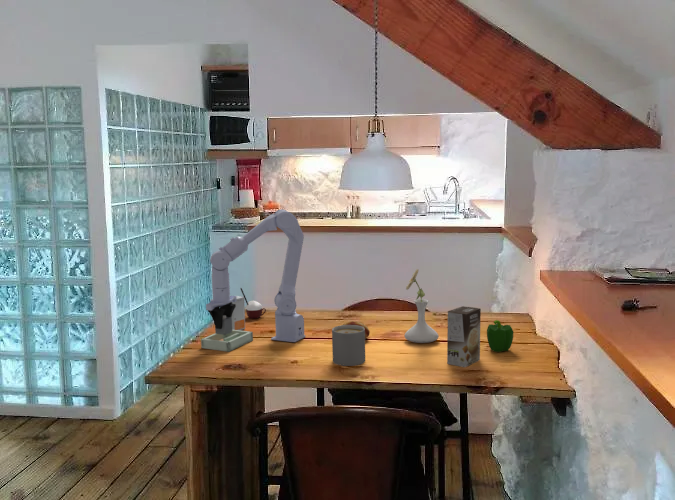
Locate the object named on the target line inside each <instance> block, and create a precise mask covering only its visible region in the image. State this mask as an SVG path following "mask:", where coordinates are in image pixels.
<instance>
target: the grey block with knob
mask: <svg viewBox="0 0 675 500" xmlns="http://www.w3.org/2000/svg"><path fill="white" fill-rule="evenodd" d="M214 331H215V333H214V334H223V335H226V334H228V333H231V332H232V317H226V315H223V319H222V329H216V328H215V327H214Z"/></svg>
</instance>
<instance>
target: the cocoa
mask: <svg viewBox="0 0 675 500" xmlns="http://www.w3.org/2000/svg"><path fill="white" fill-rule="evenodd" d="M240 292H241V294H242V297H244V302H245V303H246V305H245V313H246V315H247V317H248V318H249V319H251V320H257V319H259V318H261V317H262V316H263V315H265V313H266V312H267V310H266V308H265V307H264V308H263V305H262V304H261V303H260V302H258V301H257V300H250V301H247V297H246V295H245V293H244V291H243V288H242V287H240ZM263 310H264V311H263Z"/></svg>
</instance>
